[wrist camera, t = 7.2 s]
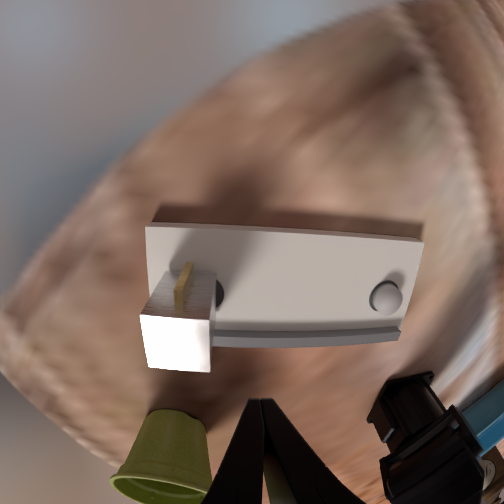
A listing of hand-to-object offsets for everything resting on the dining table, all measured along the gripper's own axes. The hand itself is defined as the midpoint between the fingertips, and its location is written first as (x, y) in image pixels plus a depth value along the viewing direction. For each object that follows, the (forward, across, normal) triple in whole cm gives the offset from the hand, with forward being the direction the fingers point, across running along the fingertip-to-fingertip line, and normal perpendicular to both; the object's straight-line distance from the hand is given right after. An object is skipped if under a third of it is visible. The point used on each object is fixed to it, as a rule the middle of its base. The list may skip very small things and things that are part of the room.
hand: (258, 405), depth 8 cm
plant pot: (+10, +6, +16) cm, 20 cm away
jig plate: (+10, -3, 0) cm, 10 cm away
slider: (+9, +3, 0) cm, 9 cm away
